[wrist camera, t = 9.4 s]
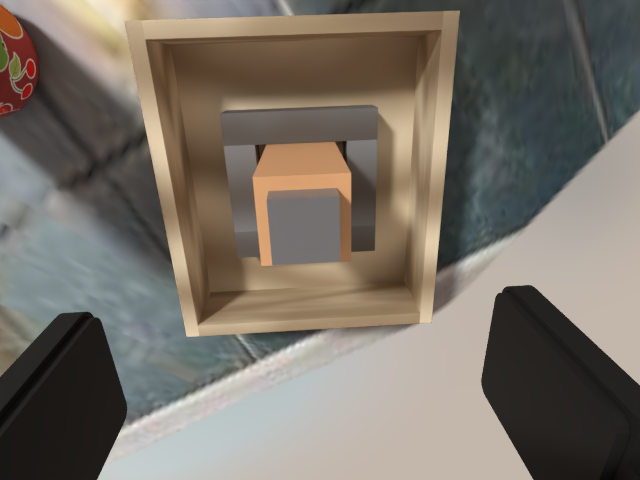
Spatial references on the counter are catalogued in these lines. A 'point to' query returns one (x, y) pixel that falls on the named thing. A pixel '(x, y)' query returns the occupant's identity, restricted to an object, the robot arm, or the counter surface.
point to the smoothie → (15, 64)
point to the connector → (303, 204)
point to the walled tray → (291, 78)
